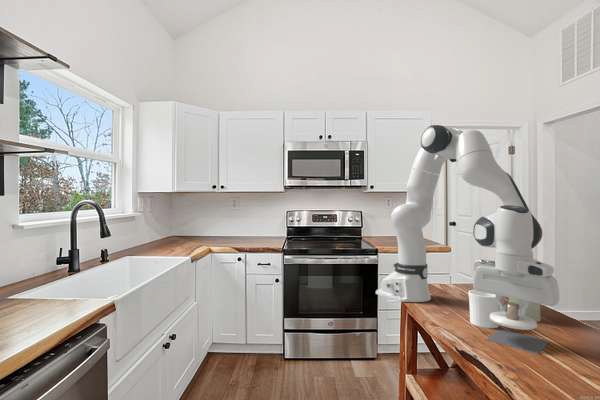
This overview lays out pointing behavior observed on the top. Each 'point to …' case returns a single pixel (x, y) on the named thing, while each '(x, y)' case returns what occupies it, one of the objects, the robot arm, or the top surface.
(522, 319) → the lid
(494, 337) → the mat
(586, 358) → the top surface
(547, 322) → the top surface
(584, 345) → the top surface
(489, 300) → the mug
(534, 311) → the can
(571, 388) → the top surface
